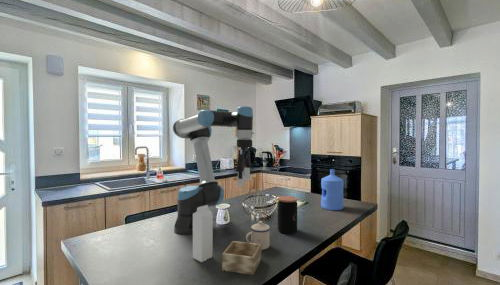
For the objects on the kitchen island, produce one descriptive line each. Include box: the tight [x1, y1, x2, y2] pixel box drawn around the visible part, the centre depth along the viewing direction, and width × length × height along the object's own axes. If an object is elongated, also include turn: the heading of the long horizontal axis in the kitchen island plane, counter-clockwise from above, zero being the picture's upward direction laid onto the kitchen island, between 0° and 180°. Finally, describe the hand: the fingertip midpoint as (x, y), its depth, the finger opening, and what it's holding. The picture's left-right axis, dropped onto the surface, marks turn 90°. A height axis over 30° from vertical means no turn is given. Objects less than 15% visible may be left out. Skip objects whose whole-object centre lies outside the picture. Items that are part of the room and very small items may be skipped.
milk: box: [192, 205, 214, 263], centre depth 108 cm, size 6×6×22 cm
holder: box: [221, 240, 262, 276], centre depth 103 cm, size 13×13×6 cm
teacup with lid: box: [245, 220, 271, 251], centre depth 119 cm, size 12×9×12 cm
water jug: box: [320, 168, 345, 211], centre depth 186 cm, size 16×16×28 cm
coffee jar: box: [277, 195, 298, 235], centre depth 140 cm, size 11×11×18 cm
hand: (243, 182), depth 123 cm, fingers open, 13 cm apart
